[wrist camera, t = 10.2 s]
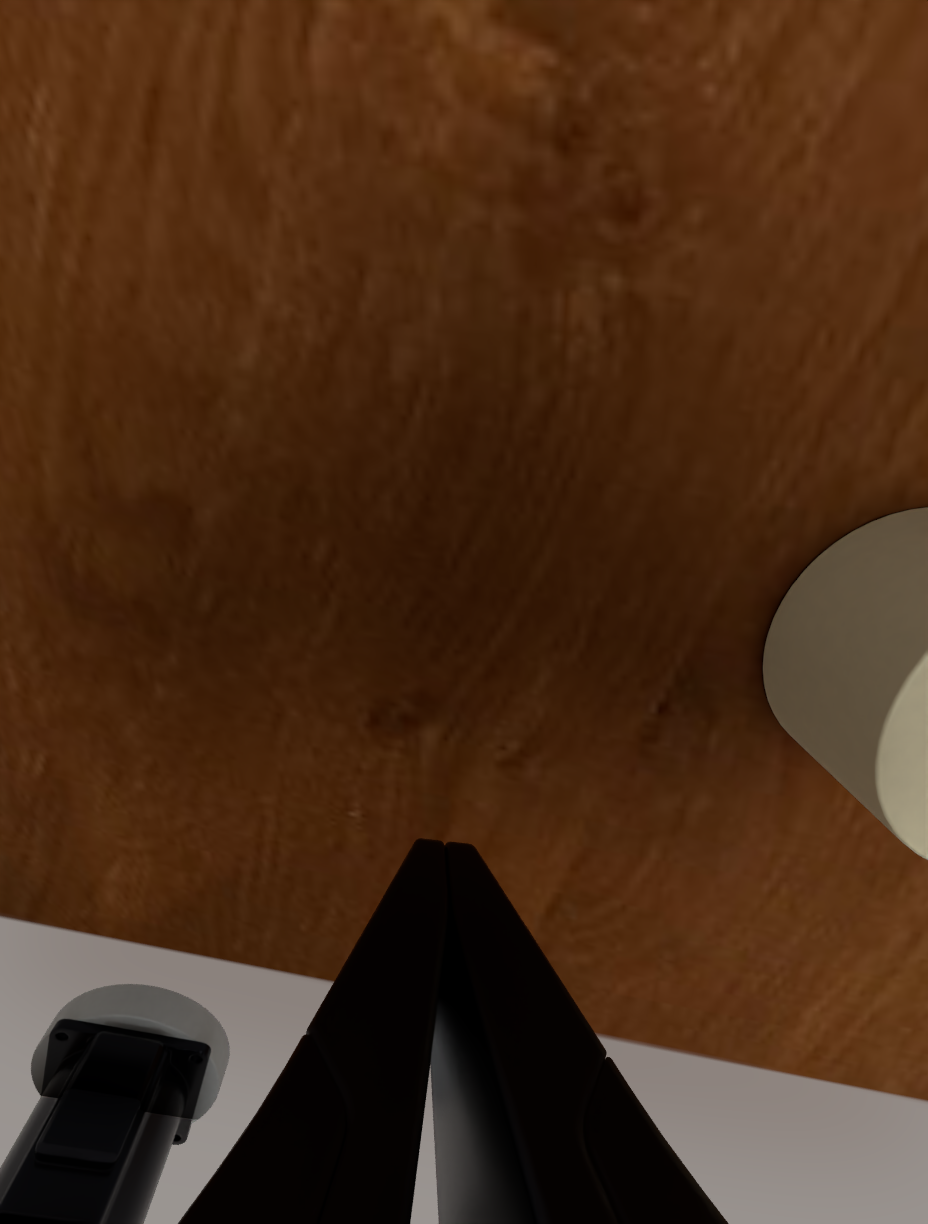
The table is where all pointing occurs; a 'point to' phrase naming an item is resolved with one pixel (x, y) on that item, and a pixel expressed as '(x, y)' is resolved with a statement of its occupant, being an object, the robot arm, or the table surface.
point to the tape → (861, 668)
